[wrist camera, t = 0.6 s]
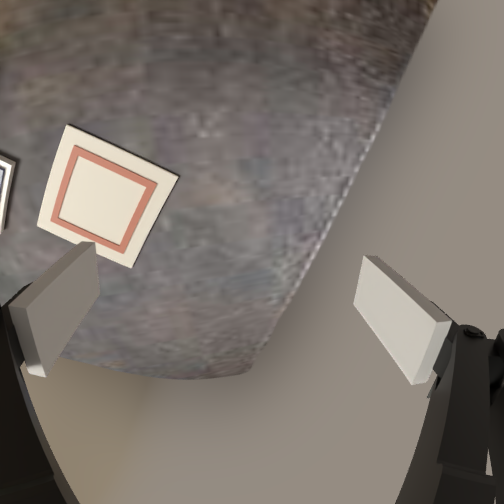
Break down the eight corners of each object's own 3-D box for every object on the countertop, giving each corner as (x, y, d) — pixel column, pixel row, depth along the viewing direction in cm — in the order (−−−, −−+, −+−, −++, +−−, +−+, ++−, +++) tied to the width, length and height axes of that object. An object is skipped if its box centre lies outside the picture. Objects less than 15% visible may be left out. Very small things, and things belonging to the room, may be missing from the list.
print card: (67, 124, 32) (66, 125, 32) (178, 176, 39) (178, 177, 38) (37, 224, 39) (36, 226, 39) (131, 267, 46) (131, 269, 45)
